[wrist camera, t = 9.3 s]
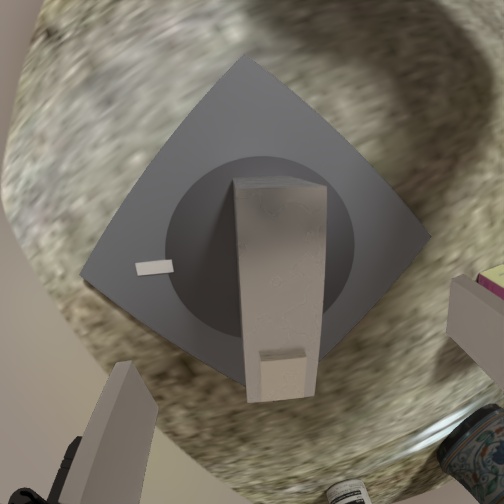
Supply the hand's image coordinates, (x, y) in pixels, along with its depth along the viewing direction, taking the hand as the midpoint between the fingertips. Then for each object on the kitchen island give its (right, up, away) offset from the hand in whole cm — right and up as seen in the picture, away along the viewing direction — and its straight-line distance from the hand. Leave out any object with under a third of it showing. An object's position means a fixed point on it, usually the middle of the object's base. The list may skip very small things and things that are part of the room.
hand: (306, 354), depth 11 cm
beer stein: (+41, -30, +28) cm, 58 cm away
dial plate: (-1, +4, +14) cm, 15 cm away
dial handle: (-1, +3, +12) cm, 13 cm away
